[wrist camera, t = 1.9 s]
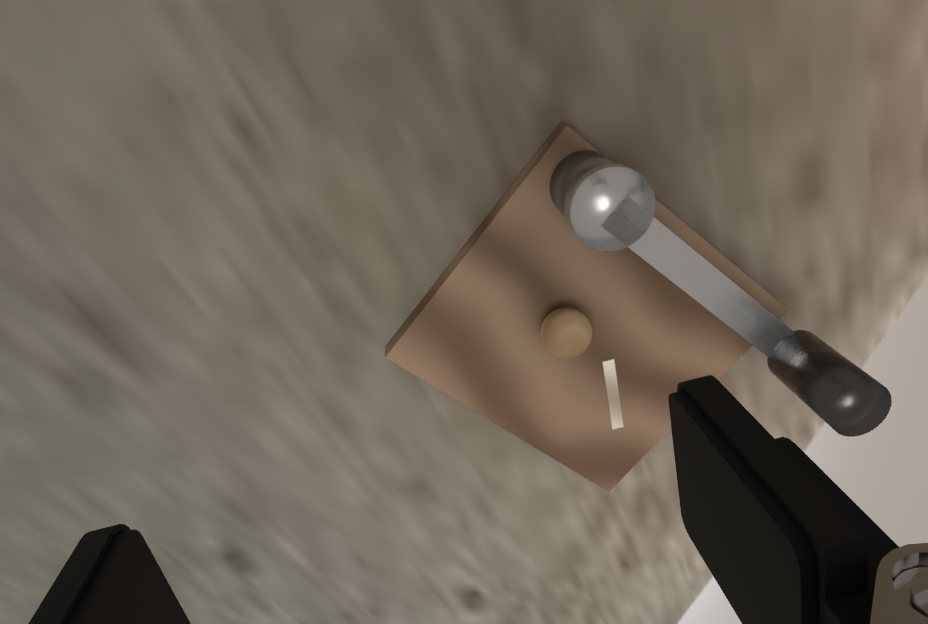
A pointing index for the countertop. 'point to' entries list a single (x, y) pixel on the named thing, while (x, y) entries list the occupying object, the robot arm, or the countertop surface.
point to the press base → (576, 276)
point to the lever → (722, 297)
